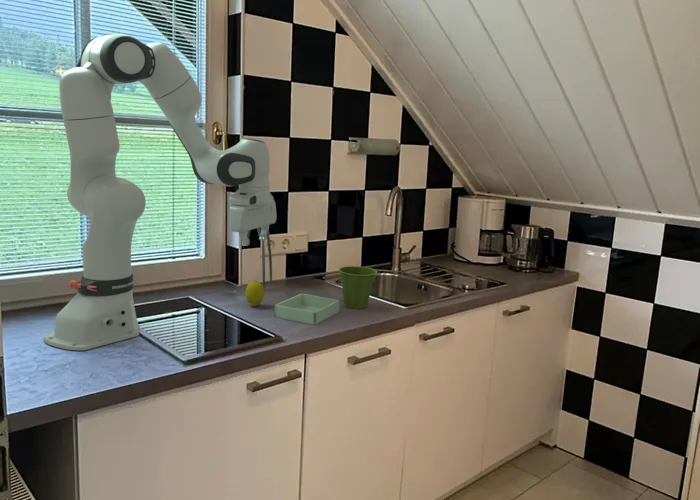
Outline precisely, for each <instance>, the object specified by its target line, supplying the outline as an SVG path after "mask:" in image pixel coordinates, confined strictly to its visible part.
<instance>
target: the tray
mask: <svg viewBox="0 0 700 500" xmlns="http://www.w3.org/2000/svg"><path fill="white" fill-rule="evenodd" d="M340 312H341V299H335V298H330V297H324V296H318V295H313V294H309V293H299V294H297V295H295V296H293V297H290V298H287V299H286V300H285V299H284V300H283V301H281V302H278V303H276V304H274V307H273V317H274V318H277V319H282V320H289V321H294V322H297V323H302V324H306V325H311V324H312V326H317V325H318V324H320V323H322V322H324V321H325V320H327V319H329V318H331V317H333V316H334V314H335V315H336V314H338V313H340ZM332 315H333V316H332Z"/></svg>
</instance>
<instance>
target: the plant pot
mask: <svg viewBox="0 0 700 500" xmlns="http://www.w3.org/2000/svg"><path fill="white" fill-rule="evenodd" d="M338 271H339V273H340V278H341V286H342V288H341V289H342V296H343V297H342V298H343V305H344V306H345V307H349V308H350V309H358V310H359V309H364V308H367V307H368V305H369V301H370V296H371V291H372V288H373V283H374V281H375V278H376V275H377V274H378V271H377V270H376V269H374V268H372V267H367V266H357V265H356V266H355V265H350V266H349V265H346V266H341V267H339V268H338Z"/></svg>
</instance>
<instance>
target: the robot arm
mask: <svg viewBox="0 0 700 500" xmlns="http://www.w3.org/2000/svg"><path fill="white" fill-rule="evenodd" d="M136 82H140V83H141V84H142V85H143V86H144V87H145V88H146V90H147V91H148V93H149V95H150V96H151V97H152V98H153V100H154V102H155V103H156V105H157V106H158V107H159V109H160V110H161V111H162V113H163V115H164V116H165V117H166V119H167V120H168V123H169V124H170V127H171V128H172V130H173V131H174V133H175V134H176V136H177V139H178V140H179V141H180V143H181V145H182V146H183V148H184V150H185V151H186V153H187V154H188V156H189V160H190V164H191V168H192V171H193V173H194V175H195V177H196V178H197V180H199V181H200V182H202V183H203V184H206V185H217V186H225V187H235V186H238V189H237V190H236V191H235V192H234V193H232V194H231V195H229V197H228V204H229V205H230V207H229V211H228V219H229V220H228V221H229V224H228V225H229V229H230V230H231V232H234V233H238V236H239V238H240V240H241V246H242V247H244V246H247V247H248V246H250V238H249V239H248V238H247V234H248V230H251V231H252V230H255V229H257V228H259V227H261V228H262V229H261V233H260V234H258V237H259V238H258V240H259V241H261V242H262V241H263V240H264V241H267V232H268V230H269V228H270V225H273V224H275V223H276V222H277V217H278V216H277V207H276V201H275V199H274V196H273V195H272V192H270V191H271V187H270V186H271V184H270V181H269V175H270V172H271V169H270V167H271V166H270V163H271V162H270V150H269V146H268V144H267V143H266V142H265V141H264V140H260V139H255V138H254V139H253V138H246V137H245V138H244V137H243V138H241V139H240V141H238V143H236V144H235V145H233V146H231V147H229V148H227V149H225V150H221V149H217V148H215V147H214V146H212V145H210V144H209V142H208V140H207V139H206V137H205V136H204V134H203V132H202V130H201V128H200V126H199V125H198V123H197V120H196V114H197V113H198V112H199V110H200V109H201V105H202V102H203V101H202V100H203V97H202V93H201V92H200V89H199V86H198V84H197V83H196V81H195V80H194V78H193V77H192V75H191V74H190V72H189V71H188V69H187V68H186V66H185V65H184V64H183V62H182V61H181V60H180V59H179V57H178V56H177V55H176V54H175V53H174V52H173V50H171V49H170V48H169V47H168V46H167V45H166V44H164V43H163V42H150V43H147V44H145V43H143V42H142V41H140V40H139V39H137V38H136V37H133V36H131V35H128V34H124V33H123V34H122V33H118V34H113V33H111V34H109V33H108V34H103V35H101V36H100V35H99V36H98V37H94V38H92V39H90V40H89V41H88V42H86V43H85V45H84V46H83V48H82V50H81V52H80V56H79V60H78V62H77V65H76V67H72V68H69V69H67V70H66V71H64V72H63V73H62V74H61V76H60V77H59V84H58V86H59V100H60V101H59V102H60V109H61V115H62V120H63V124H64V130H65V134H66V139H67V145H68V149H69V150H68V151H69V156H70V159H69V160H70V183H69V185H68V187H67V192H66V197H67V199H68V200H67V201H68V202H69V204H70V205H71V206H72V208H74V209H75V210H76V211H78V213H80V214H81V215H82V216H86V217H89V218H90V225H89V230H88V234H87V237H86V239H85V241H84V242H83V245H82V265H83V266H82V267H83V269H82V270H83V271H82V273H83V275H82V276H81V280H80V281H78V280H74V279H71V280H70V281H69V282H68V287H69V288H70V289H74V290H77V294H76V295H75V296H73V298H72V299H71V300H70V301H68V303H67V304H66V305H65V306H64V307H63V308H62V309H61V310H60V311H59V312H58V313H56V315H55V320H54V328H53V329H54V330H53V331H52V332H50V333H47V334H45V335H44V336H43V341H44V342H45V344H48V345H49V346H52V347H56V348H60V349H63V350H71V351H86V350H92V349H95V348H99V347H103V346H106V345H110V344H112V343H113V344H114V343H117V342H120V341H121V342H122V341H123V340H128V339H131V338H135V337H138V336H140V331H139V329H140V324H139V322H138V319H137V314H136V308H135V302H134V301H135V300H134V296H133V289H134V287H135V286H134V284H135V281H134V275H133V273H132V241H133V237H134V236H133V235H134V233H135V228H136V225H137V221H138V220H139V219H140V217H141V216H142V215H143V213H144V212H145V209H146V204H147V203H146V202H147V201H146V196H145V193H144V192H143V190H142V189H141V188H140V187H139V186H138V185H136V184H135V183H133V182H132V181H131V180H128V179H127V178H124V177H120V176H119V177H118V176H117V174H116V162H117V161H116V160H117V155H118V153H119V151H120V149H121V147H120V146H121V145H120V141H119V135H118V131H117V123H116V120H115V119H116V118H115V115H114V110H113V104H112V90H113V87H114V86H115V85H124V84H131V83H132V84H133V83H136ZM269 231H270V230H269Z"/></svg>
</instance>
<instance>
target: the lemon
mask: <svg viewBox="0 0 700 500" xmlns="http://www.w3.org/2000/svg"><path fill="white" fill-rule="evenodd" d="M245 298H246V300H247V303H249V304H250V305H252V306H253V307H257V306H258V305H260V304H261V303H262V302H263V301H264V298H265V290H264V288H263V283H261V282H259V281H258V280H256V279H255V280H253V281H251V282H249V283H248V284H247V286H246V288H245Z"/></svg>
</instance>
